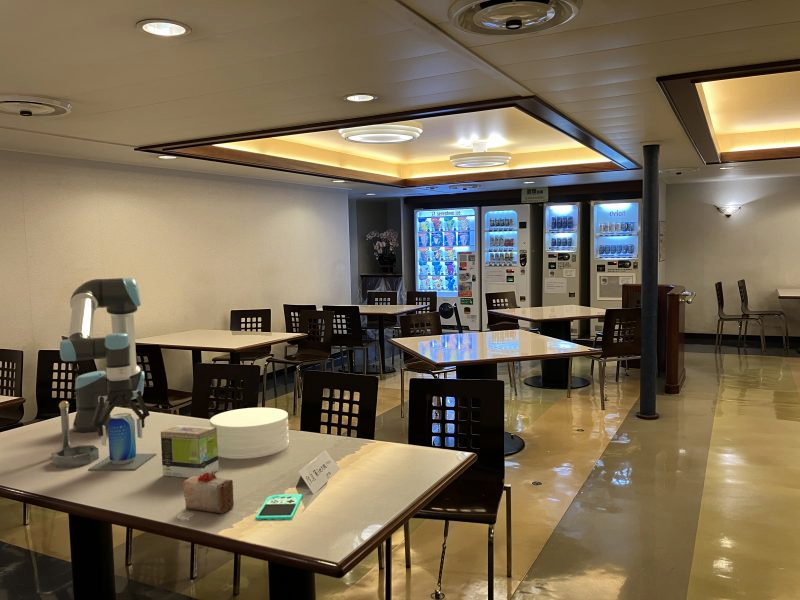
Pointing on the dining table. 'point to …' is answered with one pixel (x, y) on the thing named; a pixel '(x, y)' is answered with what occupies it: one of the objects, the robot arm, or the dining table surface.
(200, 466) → the tea box
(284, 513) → the handheld game console
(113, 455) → the beer can
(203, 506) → the food item
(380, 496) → the dining table surface
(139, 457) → the rubber mat
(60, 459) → the ring stand
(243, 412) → the plate stack
